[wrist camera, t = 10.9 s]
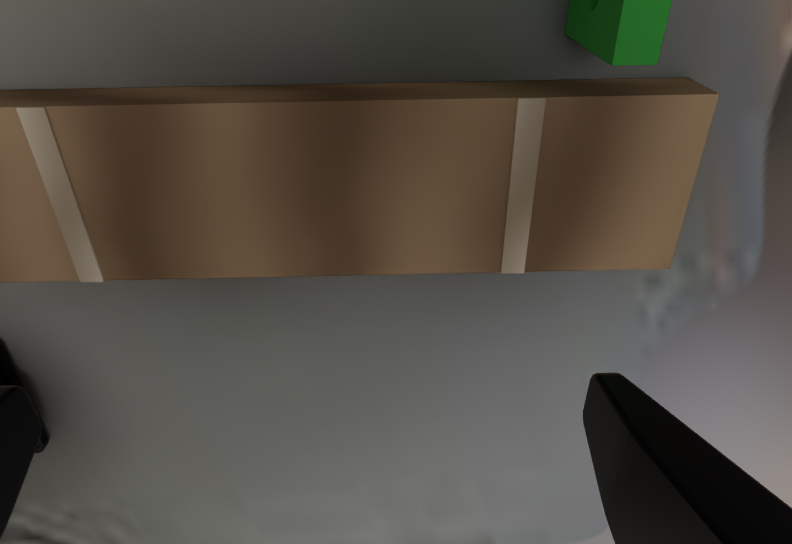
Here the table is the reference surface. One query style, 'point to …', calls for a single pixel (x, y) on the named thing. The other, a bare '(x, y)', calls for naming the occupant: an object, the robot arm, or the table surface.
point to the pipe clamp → (619, 29)
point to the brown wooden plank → (347, 178)
